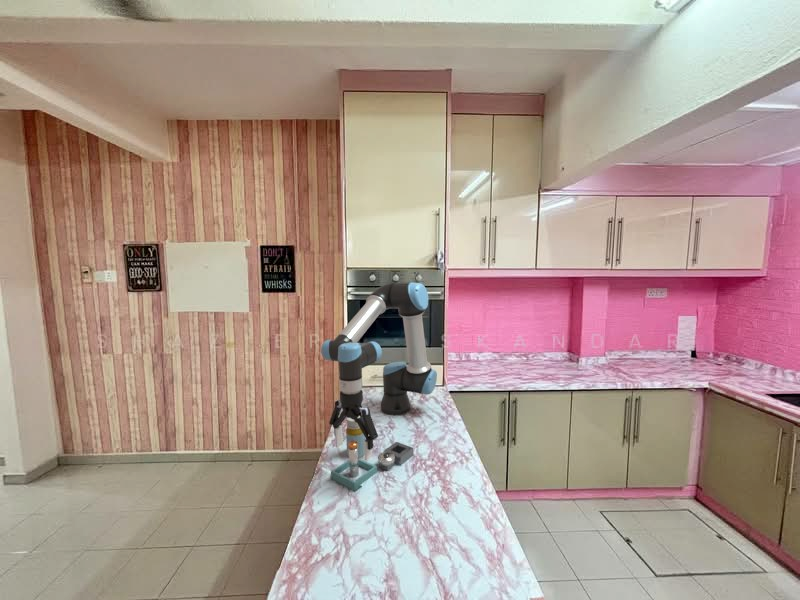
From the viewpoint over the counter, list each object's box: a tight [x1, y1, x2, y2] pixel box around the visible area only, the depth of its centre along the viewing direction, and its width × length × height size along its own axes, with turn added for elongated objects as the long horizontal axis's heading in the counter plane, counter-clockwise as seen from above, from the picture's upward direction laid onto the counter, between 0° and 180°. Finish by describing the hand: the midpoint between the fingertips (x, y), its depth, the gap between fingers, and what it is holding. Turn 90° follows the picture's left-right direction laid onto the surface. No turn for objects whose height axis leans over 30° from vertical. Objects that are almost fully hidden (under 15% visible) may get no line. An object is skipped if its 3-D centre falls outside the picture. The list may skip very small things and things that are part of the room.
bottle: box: [345, 415, 366, 459], centre depth 128 cm, size 7×7×15 cm
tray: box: [330, 458, 378, 493], centre depth 116 cm, size 11×11×3 cm
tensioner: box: [377, 441, 414, 472], centre depth 123 cm, size 14×8×5 cm, turn 143°
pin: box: [348, 441, 360, 478], centre depth 115 cm, size 3×3×12 cm
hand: (353, 451), depth 115 cm, fingers open, 13 cm apart
